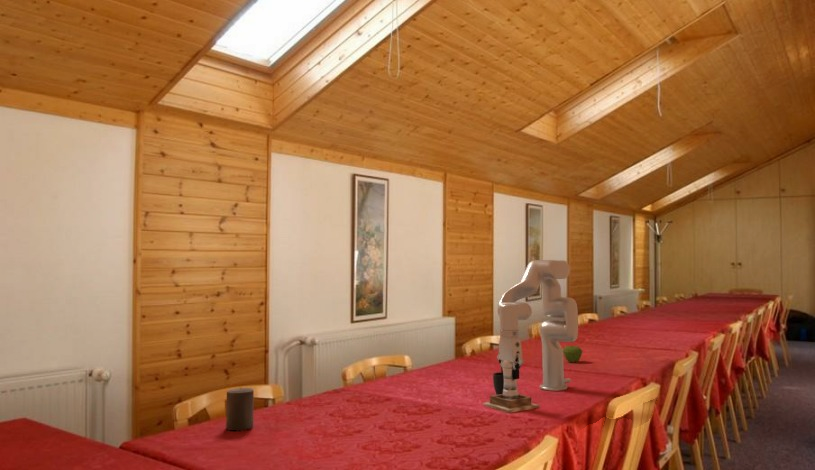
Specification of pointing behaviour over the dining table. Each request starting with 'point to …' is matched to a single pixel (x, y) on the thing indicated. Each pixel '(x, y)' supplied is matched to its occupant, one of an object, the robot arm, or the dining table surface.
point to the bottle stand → (510, 403)
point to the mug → (498, 383)
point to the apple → (572, 353)
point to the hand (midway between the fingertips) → (510, 377)
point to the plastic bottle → (509, 381)
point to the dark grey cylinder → (239, 409)
